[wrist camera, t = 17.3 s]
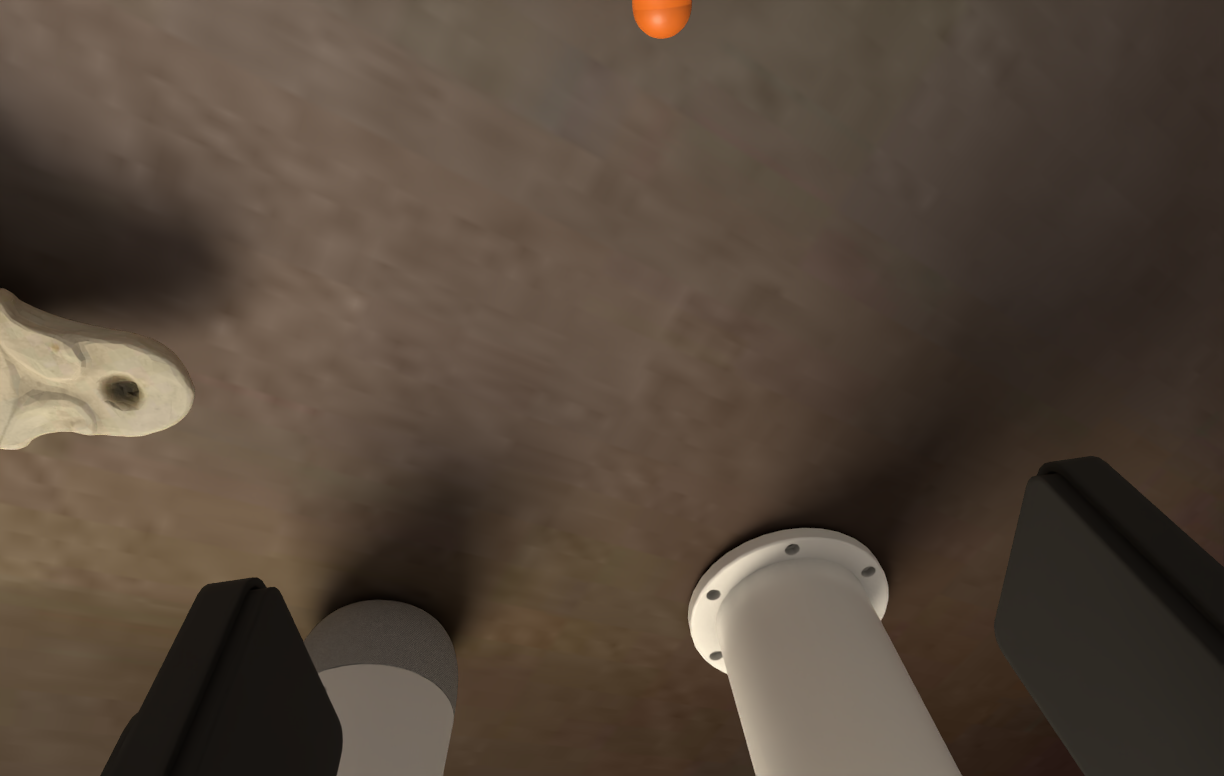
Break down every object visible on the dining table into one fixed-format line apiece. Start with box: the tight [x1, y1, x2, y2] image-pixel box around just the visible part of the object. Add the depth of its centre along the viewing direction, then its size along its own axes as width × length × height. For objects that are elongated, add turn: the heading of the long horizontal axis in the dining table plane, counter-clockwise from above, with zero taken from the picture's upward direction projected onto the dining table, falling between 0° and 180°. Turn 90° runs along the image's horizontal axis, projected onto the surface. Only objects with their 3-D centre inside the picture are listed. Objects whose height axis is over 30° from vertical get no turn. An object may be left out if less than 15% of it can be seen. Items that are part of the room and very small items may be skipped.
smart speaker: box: [304, 600, 458, 776], centre depth 40 cm, size 10×9×14 cm
